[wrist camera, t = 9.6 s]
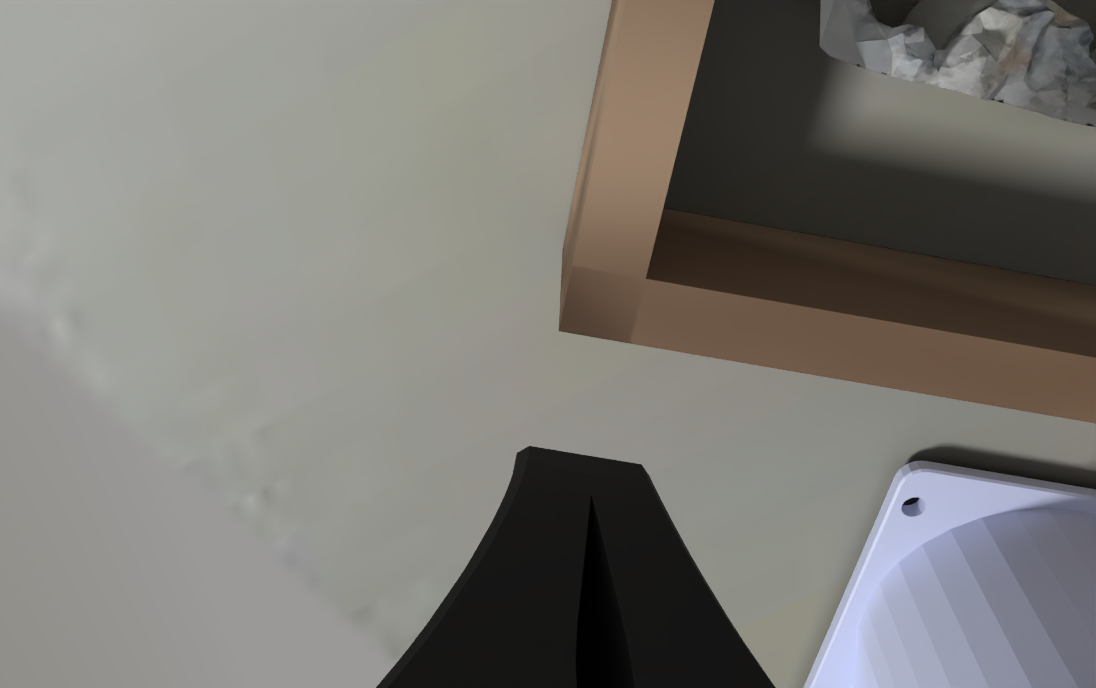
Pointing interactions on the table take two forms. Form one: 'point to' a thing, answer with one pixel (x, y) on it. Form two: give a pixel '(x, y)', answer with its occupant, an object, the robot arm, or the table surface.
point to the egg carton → (976, 50)
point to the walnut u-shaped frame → (789, 264)
